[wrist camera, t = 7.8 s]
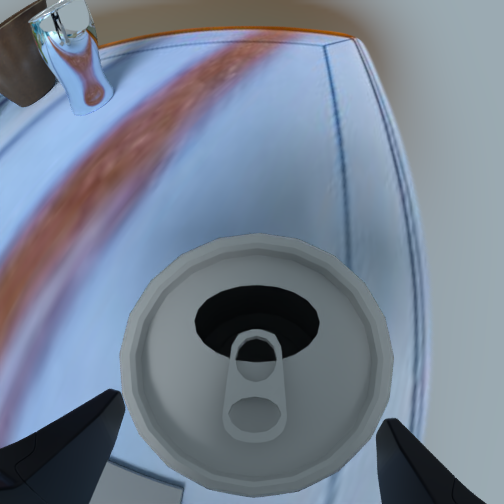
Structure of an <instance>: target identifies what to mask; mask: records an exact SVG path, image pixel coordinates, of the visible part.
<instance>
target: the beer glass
mask: <svg viewBox="0 0 504 504" xmlns="http://www.w3.org/2000/svg"><path fill="white" fill-rule="evenodd" d="M28 23H29V26H30V29H31V33H32V36H33V39H34V42H35V45H36V47H37V50H38V52H39V54H40V56H41V58H42V59H43V61H44V62H45V64H46V65H47V67H48V68H49V70H50V71H51V72H52V73H53V75H54V76H55V77H56V79H57V80H58V81H59V82H60V84H61V85H62V86H63V88H64V90H65V92H66V94H67V96H68V99H69V103H70V107H71V110H72V112H73V114H74V115H77V116H82V115H86V114H89V113H92V112H94V111H96V110H98V109H99V108H101V107H102V106H104V105H105V104H106V103H107V102H108V101H109V100H110V99H111V98H112V96H113V94H114V89H113V87H112V85H111V84H110V82H109V81H108V79H107V78H106V76H105V74H104V72H103V69H102V66H101V61H100V55H99V48H98V41H97V35H96V30H95V26H94V22H93V19H92V16H91V14H90V11H89V9H88V6H87V4H86V2H85V0H61V1H59V2H57V3H55V4H54V5H52V6H50V7H48V8H46V9H45V10H43V11H41V12H40V13H38V14H37V15H35V16H34V17H33V18H31V19H30V20H29V21H28Z"/></svg>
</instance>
